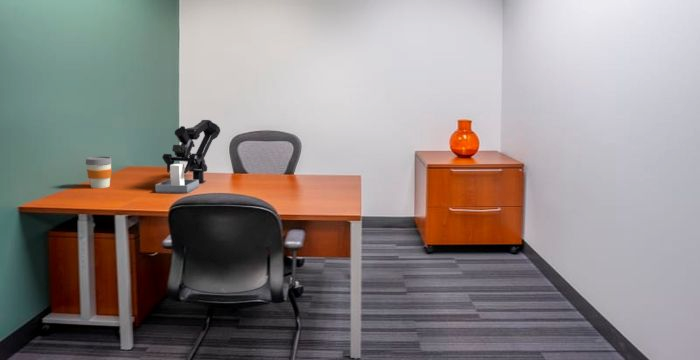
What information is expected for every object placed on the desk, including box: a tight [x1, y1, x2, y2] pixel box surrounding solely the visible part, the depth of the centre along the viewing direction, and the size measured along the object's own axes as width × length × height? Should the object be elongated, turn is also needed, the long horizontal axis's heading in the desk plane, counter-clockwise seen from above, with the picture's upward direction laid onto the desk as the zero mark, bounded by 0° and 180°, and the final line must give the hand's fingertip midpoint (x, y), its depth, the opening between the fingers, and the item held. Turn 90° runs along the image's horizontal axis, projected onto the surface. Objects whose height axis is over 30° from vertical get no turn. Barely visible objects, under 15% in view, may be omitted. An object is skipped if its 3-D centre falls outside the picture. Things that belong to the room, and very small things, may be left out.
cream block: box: [169, 163, 185, 185], centre depth 310 cm, size 5×5×12 cm
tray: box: [154, 178, 200, 195], centre depth 311 cm, size 18×16×4 cm
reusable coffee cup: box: [85, 156, 113, 189], centre depth 317 cm, size 13×13×15 cm
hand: (176, 172), depth 309 cm, fingers open, 9 cm apart
